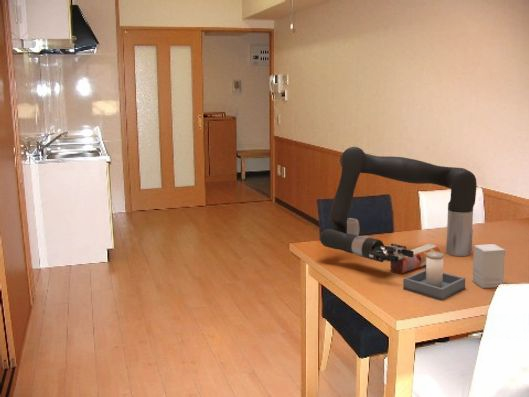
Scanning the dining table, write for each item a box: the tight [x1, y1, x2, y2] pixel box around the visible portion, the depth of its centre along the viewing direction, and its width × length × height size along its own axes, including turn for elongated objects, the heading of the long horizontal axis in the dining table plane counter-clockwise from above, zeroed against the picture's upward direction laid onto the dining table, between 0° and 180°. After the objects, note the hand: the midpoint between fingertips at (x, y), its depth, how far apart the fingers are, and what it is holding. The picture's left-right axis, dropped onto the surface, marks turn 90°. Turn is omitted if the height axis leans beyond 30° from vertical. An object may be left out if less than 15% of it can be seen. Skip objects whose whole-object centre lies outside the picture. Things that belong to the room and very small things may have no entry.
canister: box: [425, 252, 444, 288], centre depth 177 cm, size 5×5×11 cm
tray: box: [402, 268, 466, 301], centre depth 178 cm, size 14×14×4 cm
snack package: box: [390, 243, 441, 274], centre depth 200 cm, size 21×7×7 cm, turn 126°
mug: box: [347, 217, 360, 236], centre depth 228 cm, size 12×8×11 cm
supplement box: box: [472, 243, 506, 289], centre depth 180 cm, size 7×7×13 cm
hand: (405, 257), depth 185 cm, fingers open, 8 cm apart
